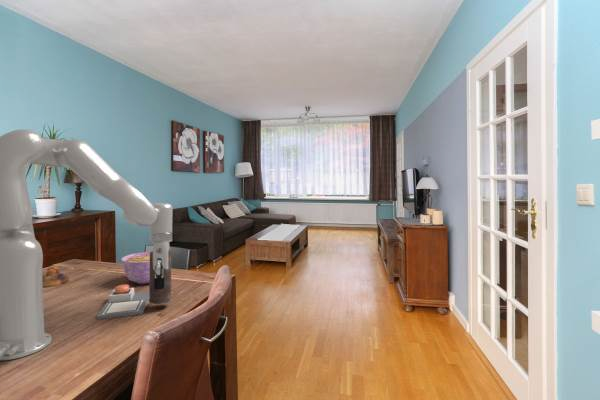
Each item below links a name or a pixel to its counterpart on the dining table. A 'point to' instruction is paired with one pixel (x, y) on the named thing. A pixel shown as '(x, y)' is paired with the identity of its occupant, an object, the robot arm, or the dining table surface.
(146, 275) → the bowl of food
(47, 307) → the dining table surface
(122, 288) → the button
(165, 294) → the brown cylinder
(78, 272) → the dining table surface
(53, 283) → the orange purple rounded piece
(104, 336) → the dining table surface
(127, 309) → the grey piece
